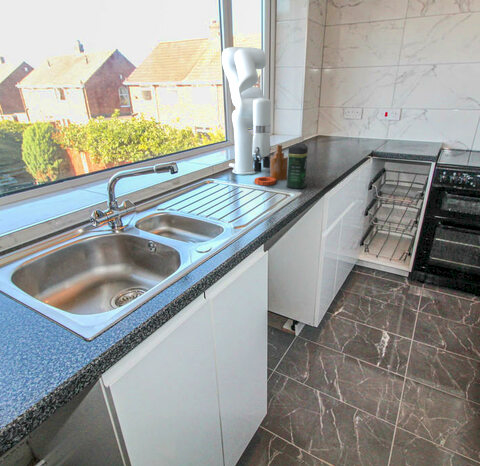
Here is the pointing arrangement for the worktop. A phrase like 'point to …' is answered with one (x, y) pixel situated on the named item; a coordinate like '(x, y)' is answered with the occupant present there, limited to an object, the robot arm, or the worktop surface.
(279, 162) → the bottle
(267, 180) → the bung
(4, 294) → the worktop surface
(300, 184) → the coffee jar
